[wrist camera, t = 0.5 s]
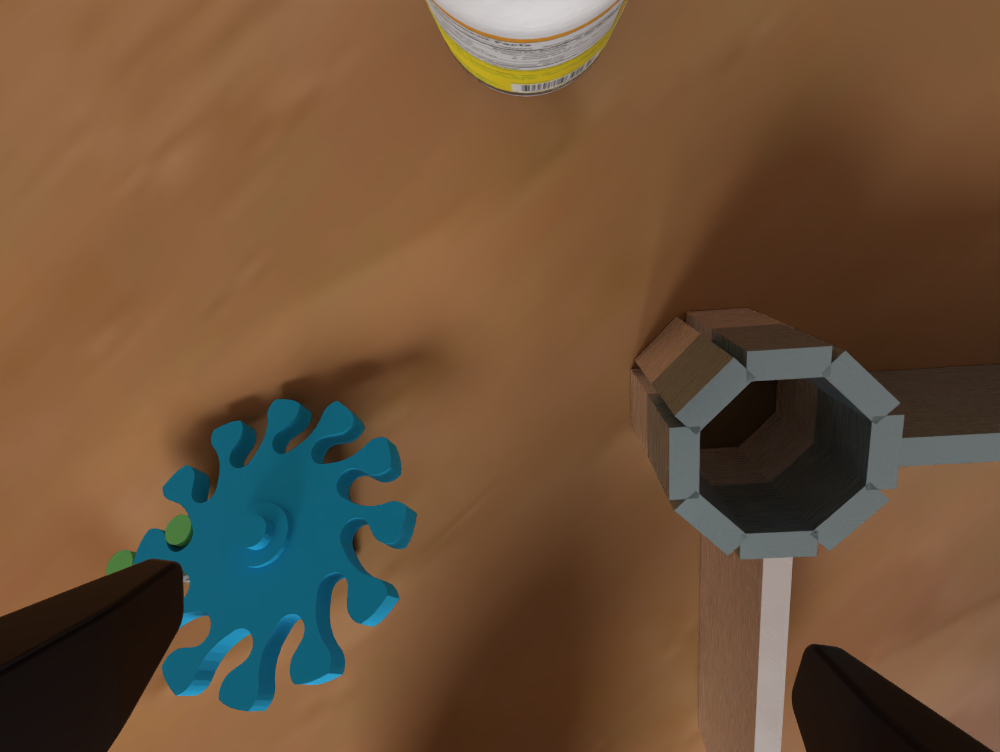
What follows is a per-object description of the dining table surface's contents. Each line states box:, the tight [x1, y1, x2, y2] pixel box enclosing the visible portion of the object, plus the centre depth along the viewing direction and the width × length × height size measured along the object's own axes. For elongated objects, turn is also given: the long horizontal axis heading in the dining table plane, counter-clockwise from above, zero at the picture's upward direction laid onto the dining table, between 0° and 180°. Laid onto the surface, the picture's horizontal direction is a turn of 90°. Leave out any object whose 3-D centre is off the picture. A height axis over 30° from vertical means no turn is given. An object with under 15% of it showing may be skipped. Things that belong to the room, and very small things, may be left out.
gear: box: [106, 399, 417, 711], centre depth 22 cm, size 11×6×10 cm
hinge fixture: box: [631, 308, 1000, 752], centre depth 20 cm, size 18×18×6 cm
